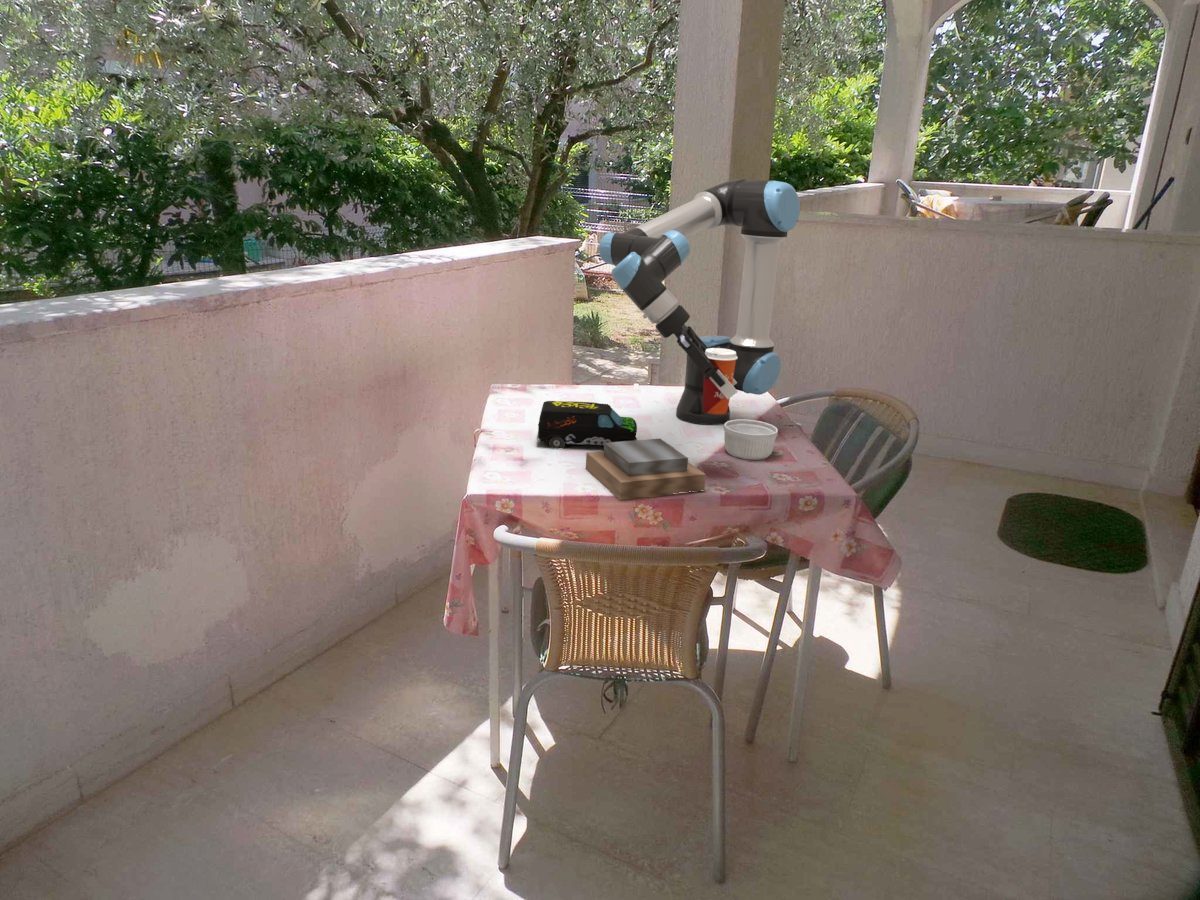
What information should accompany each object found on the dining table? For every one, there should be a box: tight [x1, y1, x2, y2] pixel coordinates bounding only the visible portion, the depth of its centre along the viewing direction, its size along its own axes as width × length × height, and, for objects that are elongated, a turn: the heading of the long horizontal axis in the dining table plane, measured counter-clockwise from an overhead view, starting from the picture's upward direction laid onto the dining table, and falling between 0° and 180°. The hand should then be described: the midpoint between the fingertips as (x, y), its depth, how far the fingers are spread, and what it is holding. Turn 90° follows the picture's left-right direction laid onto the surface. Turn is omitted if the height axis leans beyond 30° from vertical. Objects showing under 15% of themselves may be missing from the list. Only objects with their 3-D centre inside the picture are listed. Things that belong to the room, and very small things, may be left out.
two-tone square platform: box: [585, 438, 707, 501], centre depth 190 cm, size 20×20×7 cm
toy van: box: [536, 400, 638, 449], centre depth 212 cm, size 11×25×10 cm, turn 91°
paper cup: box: [703, 348, 738, 415], centre depth 192 cm, size 8×8×14 cm
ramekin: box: [723, 418, 779, 461], centre depth 212 cm, size 13×13×7 cm
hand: (732, 390), depth 193 cm, fingers closed on paper cup, 8 cm apart
